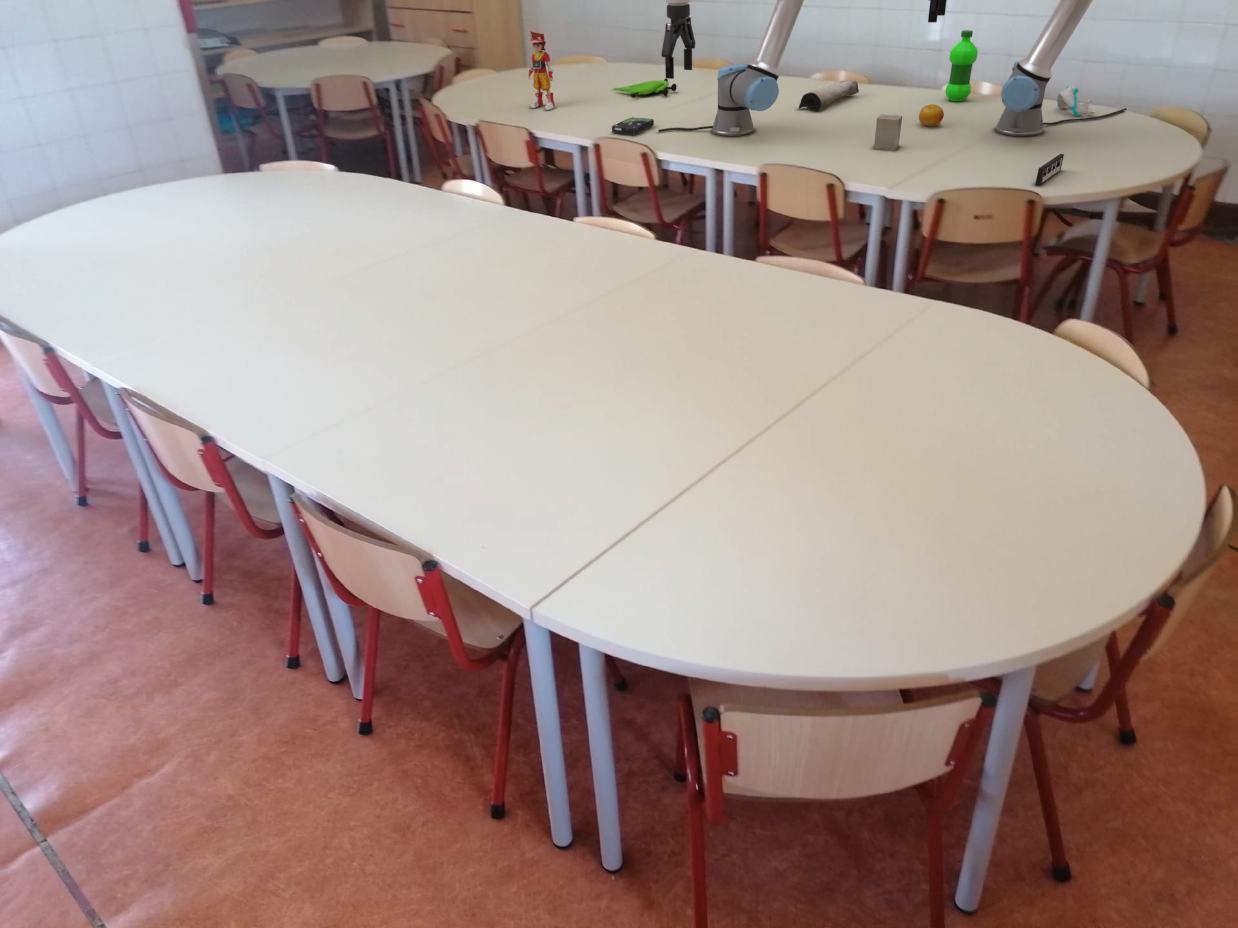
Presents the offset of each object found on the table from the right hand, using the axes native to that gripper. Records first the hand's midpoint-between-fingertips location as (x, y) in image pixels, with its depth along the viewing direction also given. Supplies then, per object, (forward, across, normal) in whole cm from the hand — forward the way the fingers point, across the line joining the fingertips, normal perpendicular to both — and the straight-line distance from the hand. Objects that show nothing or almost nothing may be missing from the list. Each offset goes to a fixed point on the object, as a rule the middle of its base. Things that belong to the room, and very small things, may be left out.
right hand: (936, 19), depth 300 cm
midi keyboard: (+38, -39, -46) cm, 71 cm away
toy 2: (+35, +33, +129) cm, 138 cm away
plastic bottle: (+37, +52, -2) cm, 64 cm away
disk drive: (+35, -24, +104) cm, 113 cm away
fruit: (+37, +12, 0) cm, 39 cm away
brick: (+37, -20, +8) cm, 43 cm away
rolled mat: (+36, +35, +45) cm, 68 cm away
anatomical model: (+38, +43, -45) cm, 73 cm away
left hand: (+10, -48, +73) cm, 88 cm away
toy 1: (+34, -3, +158) cm, 162 cm away
